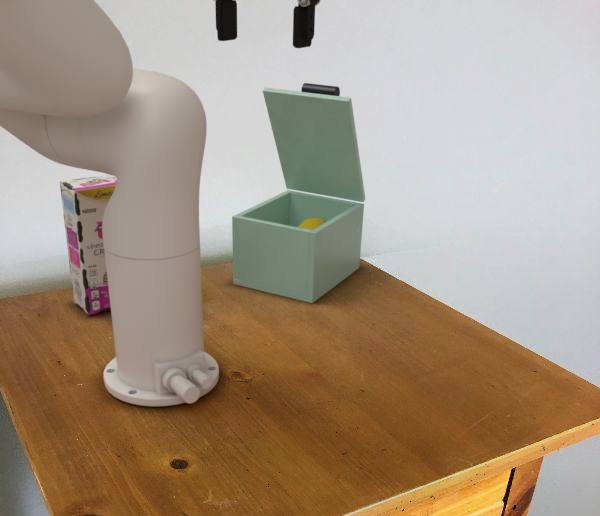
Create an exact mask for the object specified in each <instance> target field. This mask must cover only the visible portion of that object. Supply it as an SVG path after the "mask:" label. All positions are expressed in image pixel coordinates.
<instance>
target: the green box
mask: <svg viewBox="0 0 600 516" xmlns="http://www.w3.org/2000/svg"><path fill="white" fill-rule="evenodd" d="M364 209H365V203H363V202H357V201H352V200H346V199H340V198H335V197H329V196H324V195H318V194H312V193H307V192H301V191H296V190H290V189H287V190H286V191H283V192H281V193H279V194H277V195H275V196H272V197H270V198H268V199H265V200H264V201H262V202H260V203H257V204H255V205H254V206H252V207H249V208H248V209H245V210H243V211H241V212H239V213H237V214H235V215H232V217H231V225H232V227H231V228H232V230H231V233H232V234H231V235H232V283H233V285H236V286H239V287H244V288H248V289H252V290H256V291H260V292H264V293H269V294H272V295H276V296H281V297H284V298H288V299H292V300H297V301H301V302H304V303H305V302H306V303H310V304H313V303H315V302H316V301H318V300H319V299H320V298H321V297H322V296H324V295H325V294H327V293H328V292H329V291H331V290H332V289H333V288H335V287H336V286H337V285H339V284H340V283H342V282H343V281H344V280H345V279H347V278H348V277H349V276H350V275H352V274H353V273H355V272H356V271H357V270H359V269H360V263H361V252H362V238H363V226H364V225H363V223H364V211H365V210H364ZM309 218H320V219H323V220H324V221H325V222H326V223H324V224H322V225H321V226H319V227H317V228H316V229H314V230H308V229H303V228H298V226H299V225H300V224H301V223H302V222H303V221H305V220H306V219H309Z"/></svg>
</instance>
